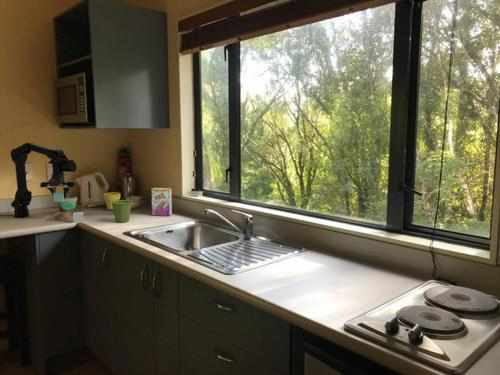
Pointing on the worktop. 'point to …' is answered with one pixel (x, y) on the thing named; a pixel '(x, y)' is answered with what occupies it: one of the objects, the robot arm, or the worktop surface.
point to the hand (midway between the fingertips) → (60, 199)
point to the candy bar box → (161, 201)
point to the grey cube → (78, 217)
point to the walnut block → (62, 216)
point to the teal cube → (59, 197)
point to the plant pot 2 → (121, 210)
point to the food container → (68, 205)
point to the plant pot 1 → (111, 199)
